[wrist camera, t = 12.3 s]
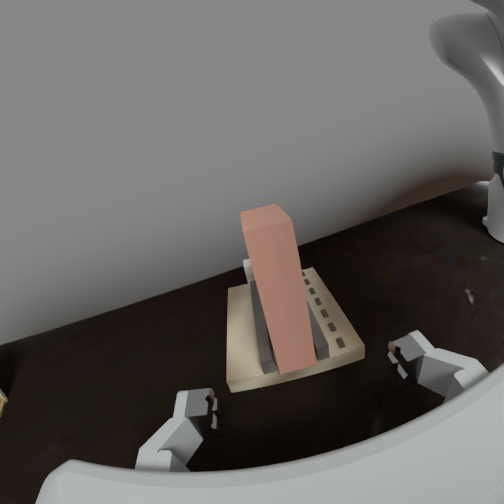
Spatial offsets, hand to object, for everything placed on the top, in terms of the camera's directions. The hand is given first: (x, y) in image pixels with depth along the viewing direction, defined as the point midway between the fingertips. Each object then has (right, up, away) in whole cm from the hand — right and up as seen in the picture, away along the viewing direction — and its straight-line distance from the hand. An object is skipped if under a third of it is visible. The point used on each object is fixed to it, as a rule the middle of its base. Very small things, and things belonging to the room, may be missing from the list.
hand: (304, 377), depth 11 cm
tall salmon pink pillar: (+1, -3, +12) cm, 13 cm away
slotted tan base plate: (+1, -2, +19) cm, 19 cm away
